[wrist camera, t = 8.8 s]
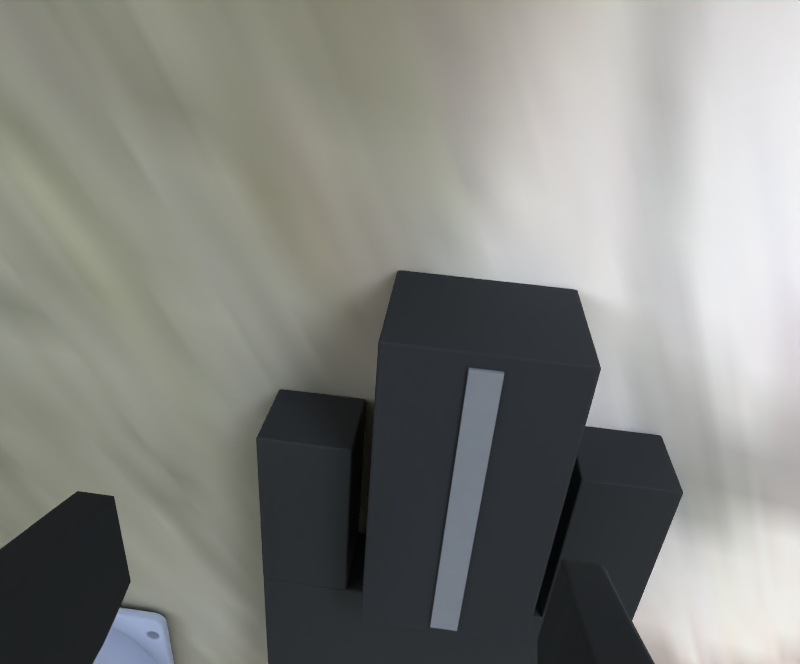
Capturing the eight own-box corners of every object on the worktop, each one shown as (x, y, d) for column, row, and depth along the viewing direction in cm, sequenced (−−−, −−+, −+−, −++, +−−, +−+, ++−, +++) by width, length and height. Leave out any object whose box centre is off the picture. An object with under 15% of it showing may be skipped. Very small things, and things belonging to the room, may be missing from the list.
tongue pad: (518, 542, 23) (525, 649, 19) (378, 524, 23) (359, 625, 19) (577, 289, 18) (602, 369, 14) (397, 268, 18) (377, 343, 14)
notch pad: (568, 696, 27) (576, 760, 25) (286, 655, 27) (270, 714, 25) (661, 435, 20) (684, 492, 18) (279, 388, 20) (255, 438, 18)
